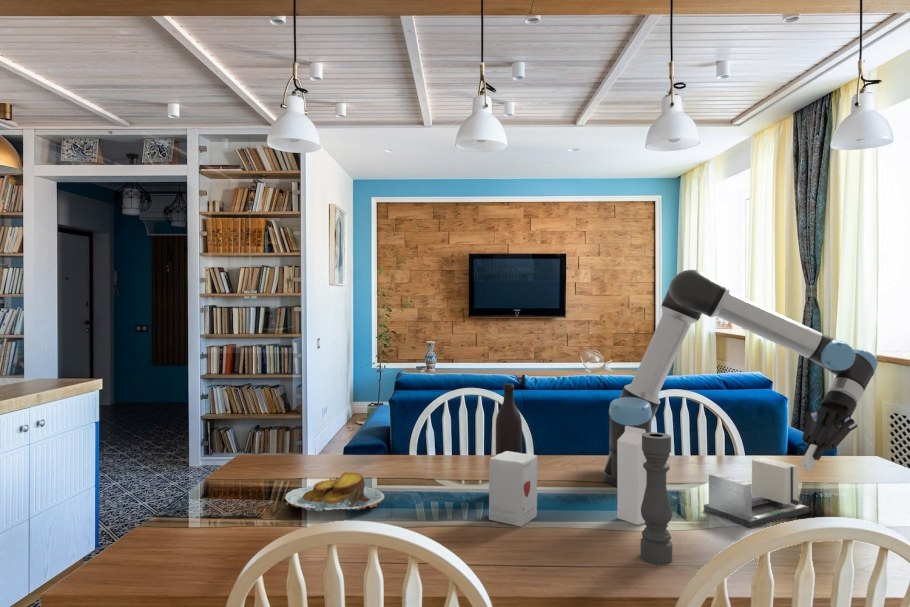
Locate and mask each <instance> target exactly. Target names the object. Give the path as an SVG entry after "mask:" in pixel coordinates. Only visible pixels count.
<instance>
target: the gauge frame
mask: <svg viewBox="0 0 910 607" xmlns="http://www.w3.org/2000/svg"><path fill="white" fill-rule="evenodd" d="M703 511H704V512H706V513H708V514H711V515H715V516H716V517H719V518H722V519H725V520H728V521H730V522H733V523H736V524H737V525H742V526H743V527H746V528H749V529H753V528H756V527H759V526H764V525H768V524H770V522H772V523H775V522H778V521H777V520H779V521H782V520H781V519H783V520H786V519H785V518H787V519H789V518H788V517H791V518H794V517H797V516H802V515H805V514H808V513H810V506H809V505H805V504H802V503H799V505H795V504H792V503H788V504H783V503H780V502H776V501H773V500H770V499H767V498H764V497H760V496H757V495H754V494H752V482H748V481H744V480H740V479H737V478H733V477H731V476H728V475H725V474H724V475H723V474H721V473H717V472H715V473H709V474H708V503H707V504H703ZM793 516H794V517H793ZM774 521H775V522H774ZM767 523H768V524H767ZM752 527H753V528H752Z"/></svg>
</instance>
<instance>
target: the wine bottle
mask: <svg viewBox="0 0 910 607" xmlns="http://www.w3.org/2000/svg"><path fill="white" fill-rule="evenodd" d="M502 387H503V388H502V389H503V402H502V403H501V407H499V410H498V412H497V415H496V418H495V456H496V455H498V454H501V453H503V452H505V451H511V452H517V453H523V424H522V422H523V421H522V417H521V414H520V411H519V409H518V407H517V405H516V403H515V398H514V390H515V385H514V383H503V386H502Z"/></svg>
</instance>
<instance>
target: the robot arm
mask: <svg viewBox="0 0 910 607" xmlns="http://www.w3.org/2000/svg"><path fill="white" fill-rule="evenodd" d="M660 308H661V310H662V314H661V317H660V320H659V322H658V324H657V326H656V329H655V331H654V333H653V334H652V337H651V339H650V342H649V344H648V346H647V348H646V350H645V353H644V354H643V357H642V359H641V361H640V364H639V366H638V368H637V370H636V372H635V375H634V377H633V379H632V382H630V383H629V384H626V385H624V387H623V389H622V391H621V394H620V396H619V397H618V398H615V399H613V400H612V401H610V403H609V409H608V415H609V454H608V458H607V460H606V462H605V465H604V469H603V474H602V476H603V478H602V479H603V481H604V482H605V483H607V484H609V485H611V486H615V487H617V440H618V439H619V438H620V437H621V436H622V434H623V433H624V432H625V426H630V427H635V428H640V429H645V430H646V433H650V432H652V423H653V419H654V417H655V415H656V413H657V411H658V409H659V406H660V404H661V401H660V398H659V395H660V392H661V389H662V388H663V385H664V383H665V381H666V378H667V376H668V374H669V373H670V370H671V368H672V366H673V364H674V361H675V360H676V358H677V355H678V354H679V351H680V348H681V346H682V344H683V342H684V340H685V338H686V336H687V333H688V331H689V329H690V327H691V325H692V324H695V323H698V322H699V320H700V319H701V316H702V314H703V315H705V316H707V317H709V318H714V317H717V318H721V319H723V320H725V321H727V322H729V323H731V324H732V325H735V326H737V327H738V328H739V327H740V328H741V329H744V330H746V331H748V332H750V333H752V334H754V335H757V336H759V337H762V338H763V339H766V340H768V341H770V342H772V343H774V344H776V345H778V346H780V347H783V348H784V349H787V350H789V351H791V352H794V353H795V354H798V355H800V356H802V357H805V358H806V359H808V360H810V361H812V362H813V363H815V364H817V365H818V366H821V367H822V368H823V369H825V370H827V371H829V372H830V373H831V374H833V375H835V377H834V379H833V381H832V383H831V385H830V387H829V388H828V390H827V392H826V394H825V396H824V397H823V399H822V400H821V405H820V407H819V408H818V409H817V410H816V412H815V411H814V412H811V411H807V412H805V417H806V421H805V425H804V430H803V433H802V437H801V439H802V441H803V443H804V444H805V448H804V450H803V452H802V454H803V458H802V459H801V462H800V463H799V464H800V465H801V467H802V468H803V470H804V471H807V472H811V471H812V469H813V467H814V465H815V463H816V462H817V461H819V460H821V458H822V456H823V454H824V452H826V451H830V452H833V451H835V450H836V448H837V447H838V445H840V444H841V442H842V441H843V440H844V439H846V437H847V436H848V435H849V433H850V432H852V431H853V430H856V429H857V427H858V425H857V423H856V421H855V420H854V419H853V418H852V416H853V414H854V412H855V410H856V408H857V405H858V404H859V402H860V401H861V398H862V397H863V395H864V393H865V390H866V388H867V386H868V385H869V383H870V381H872V378H873V377H874V376H875V372H876V370H877V366H878V363H879V362H878V359H877V358H876V356H875V355H874V354H873V353H871V352H870V351H867V350H865V351H864V350H863V349H860V348H857V349H856V348H855V349H853V347H852V346H851V345H850V344H848V343H847V342H844V341H842V340H838V339H835V338H834V337H831V336H828V335H826V334H823V333H822V332H820V331H817V330H815V329H813V328H811V327H809V326H807V325H804V324H802V323H800V322H797V321H795V320H793V319H791V318H789V317H788V316H784V315H783V314H780V313H778V312H776V311H773V310H771V309H769V308H767V307H765V306H762V305H760V304H758V303H756V302H753V301H751V300H749V299H747V298H745V297H743V296H740V295H739V294H736V293H734V292H732V291H731V290H730V289H729V287H728V286H727V285H725V284H723V283H721V282H719V281H718V280H716V279H713V278H712V277H710V276H709V275H707V274H705V273H704V272H702V271H700V270H697V269H686V270H682V271H681V272H679V273H678V274H676V275H675V276H674V277H673V278H672V280H671V281H670V284H669V286H668V289H667V292H666V294H665V296H664V298H663V301H662V303H661V304H660ZM817 419H818V420H817ZM816 422H817V424H816Z"/></svg>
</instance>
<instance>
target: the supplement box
mask: <svg viewBox="0 0 910 607" xmlns="http://www.w3.org/2000/svg"><path fill="white" fill-rule="evenodd" d="M488 469H489V470H488V473H489V474H488V476H489V477H488V478H489V480H488V483H489V484H488V520H490V521H494V522H497V523H498V522H499V523H503V524H508V525H511V526H512V525H513V526H516V527H521V528H522V527H523V526H524V525H526V524H528V523H529V522H531V521H532V520H533V519H534V518H536V517H537V516H538V455H536V454H529V453H523V452H522V453H517V452H511V451H505V452H503V453H501V454H498V455H496V454H495V455H494V456H492V457H489V466H488Z"/></svg>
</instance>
